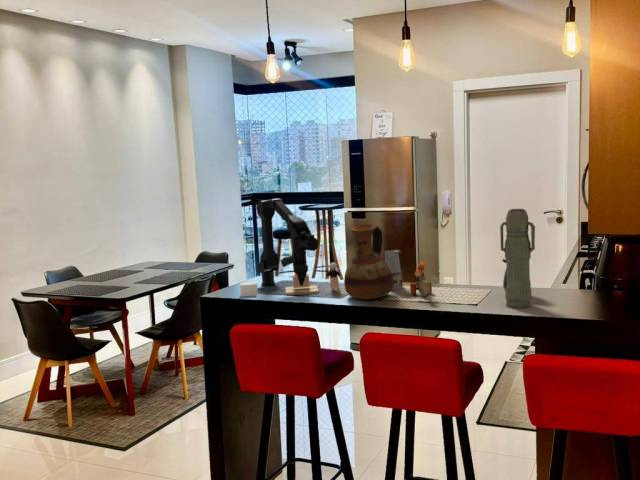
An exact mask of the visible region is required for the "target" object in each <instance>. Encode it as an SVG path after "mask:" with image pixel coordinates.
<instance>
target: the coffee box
mask: <svg viewBox="0 0 640 480" xmlns="http://www.w3.org/2000/svg"><path fill="white" fill-rule="evenodd" d="M402 257H403V256H402V251H401V250H400V249H390V250H385V251H384V258H385V259H384V261H385V262H386V264H387V265H388V267H389V269H390V271H391V273H392V276H393V289H392V291H399V290H402V291H403V289H404V287H403V285H404V284H403V262H402V261H403V259H402Z"/></svg>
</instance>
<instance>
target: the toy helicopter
mask: <svg viewBox="0 0 640 480" xmlns="http://www.w3.org/2000/svg"><path fill="white" fill-rule="evenodd" d="M427 264H428V262H427V261H426V260H421V261H420V262H419V264H418V266H417V267H416V270H415V272H414V275H415V276H416V278H415V279H416V281H415V282H410V283H409V284H410V285H409V286H410V287H409V289H410V294H411V296H413V295H416V294H417V291H418V292H419V295H420V297H422V298H424V297H425V298H426V297H427V294H432V292H433V288H432V285H433V284H432V282H431V281H429V280H426V276H425V273H426V265H427Z"/></svg>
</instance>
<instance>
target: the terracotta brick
mask: <svg viewBox="0 0 640 480" xmlns="http://www.w3.org/2000/svg"><path fill="white" fill-rule="evenodd" d="M292 286H293V287H294V288H304V287H310V275H309V273H307V274H306V277H305V280H304V283H303V285H300V283H299V279H298V275H297V274H293V275H292Z"/></svg>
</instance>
